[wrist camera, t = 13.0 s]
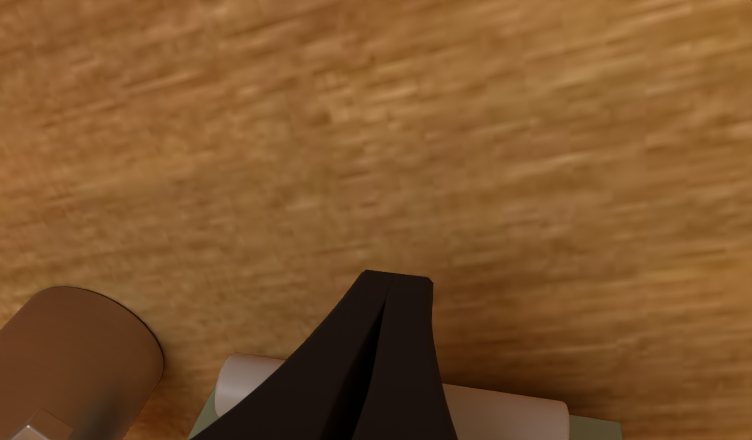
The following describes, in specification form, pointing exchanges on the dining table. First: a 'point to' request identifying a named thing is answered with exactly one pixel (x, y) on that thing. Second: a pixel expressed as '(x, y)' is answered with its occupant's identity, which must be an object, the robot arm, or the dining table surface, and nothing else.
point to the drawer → (466, 405)
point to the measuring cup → (74, 368)
